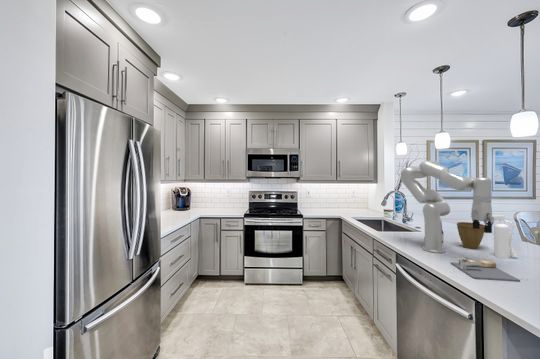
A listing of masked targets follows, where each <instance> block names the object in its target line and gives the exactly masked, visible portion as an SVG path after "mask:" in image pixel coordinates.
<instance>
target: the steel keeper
mask: <svg viewBox="0 0 540 359" xmlns="http://www.w3.org/2000/svg"><path fill="white" fill-rule="evenodd" d="M460 263H461V269H462V270H466V265H481V266H483V264H482V263H480V262H463V261H460Z"/></svg>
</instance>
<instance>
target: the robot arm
mask: <svg viewBox="0 0 540 359" xmlns="http://www.w3.org/2000/svg"><path fill="white" fill-rule="evenodd" d="M427 177H433V178H434V179H437V180H438V181H440V182H441V183H442V185H445V186H447V187H449V188H451V189H453V190H455V191H456V190H457V191H472V192H473V193H472V204H471V212H470V215H471V216H470V217H471V220H472V223H473V229H480V224H481V222H483V223H484V224H483V225H484V234H492V233H493V225H494V224H495V222H494V219H495V218H493V217H492V216H493V210H492V208H493V207H492V185H493V184H492V183H493V182H492V179H491V178H489V177H471V176H467V177H465V176H463V177H461V176H457V175H455V174H452V173H451V172H450V170H449V168H448V167H446V166H443V165H442V163H441V162H439V161H436V160H425V161H422V162H420V164H419V165H418V166H408V167H404V168H403V169H402V170H401V172H400V180H401V182H402V184H403V185H404V186H405V187H406V189H407V190H408V191H409V193H410V194H411V195H412V196H413V197H414V199H415V200H416V201H417V202H418V203H420V204H424V205H423V207H422V214H423V218H424V237H425V239H424V245H423V246H422V247H421V249H422V250H423V251H426V252H429V253H434V254H435V253H436V254H439V253H440V254H442V253H443V254H444V253H446V249H445V248H443V242H442V230H443V223H442V222H443V221H442V219H441V217H445V216H447V215H449V214H450V213H451V208H450V205H449V204H448V202H447V201H446V200H445V199H444V198H443V197H442V195H441V194H440V193H439V192H438V191H436V190H434V189H431V188H429V189H426V188H425V187H424V186H423V185H422V184H421V183H420V182H419V181H418V180H417V179H423V178H427Z"/></svg>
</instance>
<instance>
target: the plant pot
mask: <svg viewBox="0 0 540 359" xmlns="http://www.w3.org/2000/svg"><path fill="white" fill-rule="evenodd" d="M484 225H485V224H482V223H480V229H473V222H466V221H459V222H456V226H457V227H456V229H457V231H458V235H459V238H460V241H461V244H462V247H463V248H466V249H471V250H478V249H479V247H480V246H481V243H482V240H483V237H484V234H485V232H484Z"/></svg>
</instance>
